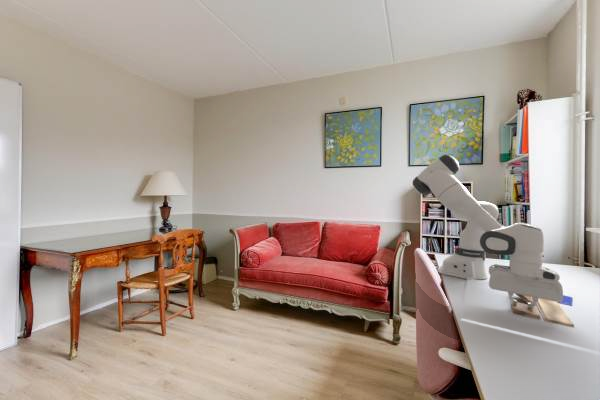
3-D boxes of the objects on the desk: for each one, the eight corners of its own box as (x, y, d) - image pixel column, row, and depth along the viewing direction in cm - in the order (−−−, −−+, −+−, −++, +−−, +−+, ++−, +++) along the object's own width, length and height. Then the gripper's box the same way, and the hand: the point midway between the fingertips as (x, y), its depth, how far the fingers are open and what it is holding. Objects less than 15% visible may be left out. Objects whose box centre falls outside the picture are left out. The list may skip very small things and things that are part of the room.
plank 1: (513, 292, 102) (516, 290, 102) (511, 286, 110) (513, 283, 110) (532, 307, 99) (535, 304, 98) (528, 298, 107) (531, 296, 106)
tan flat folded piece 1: (513, 312, 93) (514, 308, 93) (510, 303, 101) (511, 299, 101) (539, 320, 89) (540, 316, 89) (534, 310, 97) (535, 306, 97)
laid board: (544, 322, 88) (544, 318, 88) (532, 299, 107) (532, 296, 107) (573, 328, 84) (574, 324, 84) (556, 304, 103) (556, 300, 103)
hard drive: (572, 305, 100) (572, 297, 108) (543, 298, 106) (545, 291, 114) (572, 309, 100) (572, 300, 108) (542, 302, 106) (545, 294, 114)
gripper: (489, 265, 98) (486, 301, 98) (566, 277, 86) (562, 318, 87) (489, 261, 103) (486, 296, 104) (561, 272, 91) (558, 311, 92)
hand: (522, 306), depth 95 cm, fingers open, 3 cm apart
